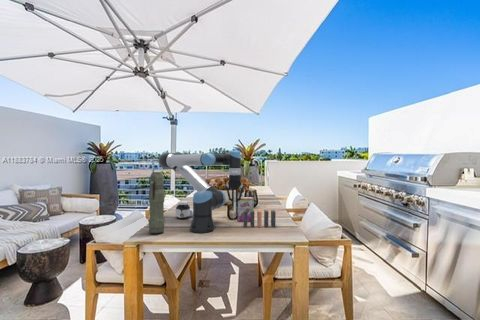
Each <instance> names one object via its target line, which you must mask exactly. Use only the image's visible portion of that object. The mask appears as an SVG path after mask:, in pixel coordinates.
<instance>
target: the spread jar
mask: <svg viewBox="0 0 480 320" xmlns="http://www.w3.org/2000/svg"><path fill="white" fill-rule="evenodd" d="M188 202H189V201H185V200H184V201H182V200H181V201H178V204H177V205H176V207H175V216H176V218H177V219H179V220H186V219H188V218H189V217H192V218H193V207H192V208H191V207H190V205H189V203H188Z"/></svg>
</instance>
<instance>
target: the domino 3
mask: <svg viewBox="0 0 480 320" xmlns="http://www.w3.org/2000/svg"><path fill="white" fill-rule="evenodd" d="M256 215H257V219H256V220H257V222H256V223H257V224H256V225H257V227H258V228H262V210H261V209H257V214H256Z"/></svg>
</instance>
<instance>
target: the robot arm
mask: <svg viewBox="0 0 480 320" xmlns="http://www.w3.org/2000/svg"><path fill="white" fill-rule="evenodd" d="M241 160H242V153H241V151H240V150H229V151H228V153H211V152H207V153H189V154H188V153H185V154H184V153H181V152H164V153H162V154H160V156H159V158H158V161H157V162H158V165H159V166H160V167H161V168H162V169H164V170H173V171H174V172H175V174H179V175H181V176H182V177H183V179H185V180H186V182H187V183H189V184H190V185H191V187H192V188H193V189H194V190H195V192H194V193H193V198H192V209H193V217H192V219H191V222H190V226H189V231H190V232H192V233H197V234H205V233H209V232H213V231H214V230H215V229H216V227H215V222H214V219H213V210H216V209H220V208H221V207H223V206H224V205H225V204H226V193H224V191H223V190H220V189H217V188H216V187H215V186H213V185H209V184H208V182H207V181H205V179H203V177H201V176H200V175H199V174H198V173H197V172H196V171H195V170H194V169H193V166H194V167H203V166H205V167H210V166H213V167H214V166H228V183H227V184H226V185H224V188H225V189H226V192H227V196H228V200H229V202H231V207H233V213H237V206H238V201H239V200H241V197H243V191H244V189H245V187H246V186H245V185H243V183H242V181H241V180H242V176H241V174H242V171H241V170H242V169H241V167H242V166H241V163H242V161H241ZM229 188H230V189H231V193H230V190H229ZM239 188H240V192H239ZM234 190H235V191H234ZM238 197H239V198H238Z"/></svg>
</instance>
